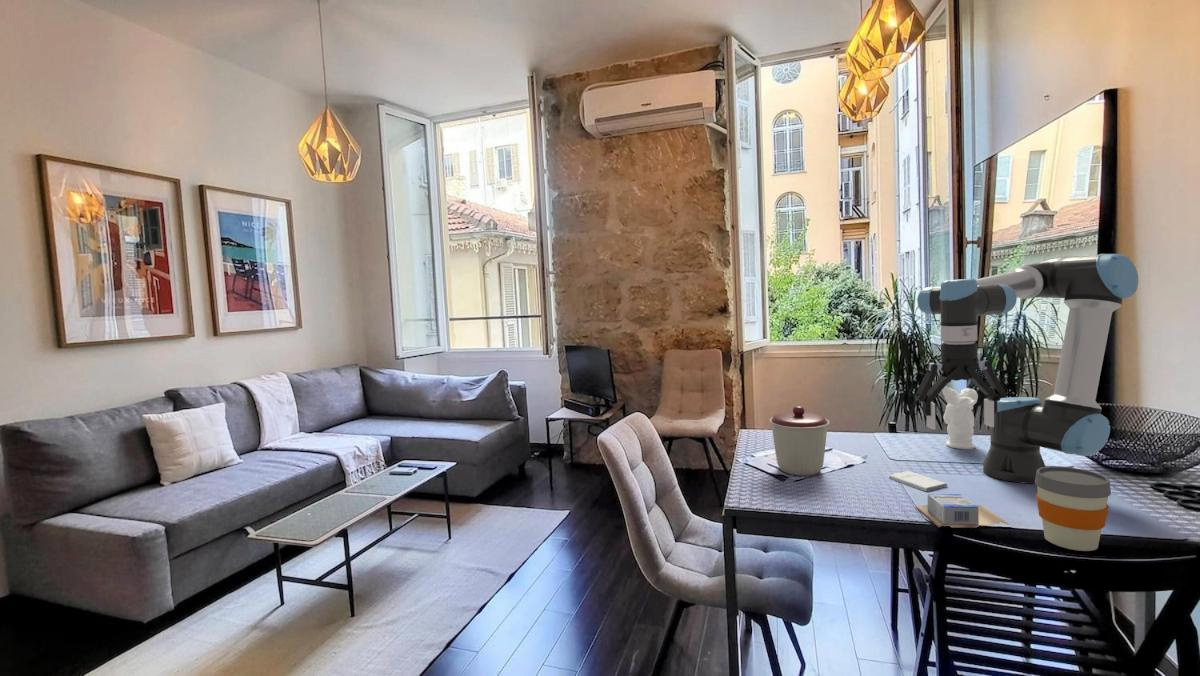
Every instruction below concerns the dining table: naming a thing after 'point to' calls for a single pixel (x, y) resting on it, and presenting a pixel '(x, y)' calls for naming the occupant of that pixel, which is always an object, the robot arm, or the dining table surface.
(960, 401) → the cherub figurine
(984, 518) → the cork mat
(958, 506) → the medicine box
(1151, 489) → the dining table surface
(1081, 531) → the reusable coffee cup
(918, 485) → the external hard drive
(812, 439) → the canister
